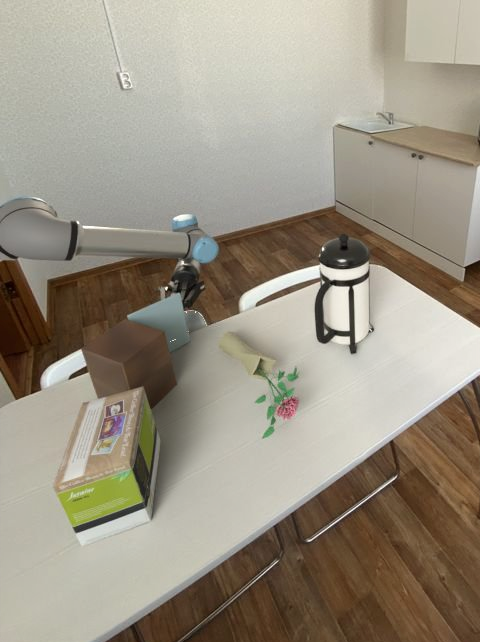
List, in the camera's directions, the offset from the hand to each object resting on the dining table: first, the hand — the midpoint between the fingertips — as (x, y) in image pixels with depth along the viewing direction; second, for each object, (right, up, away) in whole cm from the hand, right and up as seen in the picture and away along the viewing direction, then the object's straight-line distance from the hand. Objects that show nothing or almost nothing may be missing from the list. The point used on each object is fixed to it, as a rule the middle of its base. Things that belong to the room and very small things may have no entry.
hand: (170, 322), depth 97 cm
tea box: (+8, -19, -31) cm, 37 cm away
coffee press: (+45, -6, +4) cm, 45 cm away
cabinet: (-1, -12, -12) cm, 17 cm away
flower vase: (+26, -11, -11) cm, 30 cm away
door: (-1, -7, 0) cm, 7 cm away
